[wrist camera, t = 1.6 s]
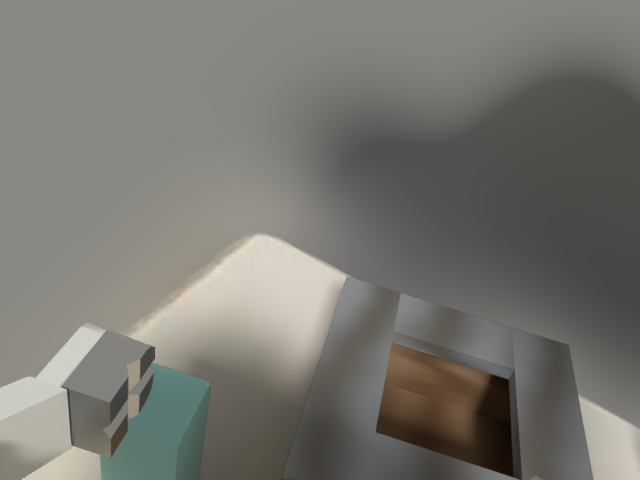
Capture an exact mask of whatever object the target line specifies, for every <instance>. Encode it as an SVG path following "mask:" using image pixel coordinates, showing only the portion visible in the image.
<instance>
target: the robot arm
mask: <svg viewBox="0 0 640 480" xmlns="http://www.w3.org/2000/svg"><path fill="white" fill-rule="evenodd" d="M154 359H155V347H153V346H150V345H147V344H145V343H142V342H139V341H136V340H134V339H131V338H128V337H126V336H123V335H120V334H118V333H115V332H112V331H109V330H107V329H103V328H101V327H98V326H95V325H92V324H89V323H87V324H85V325H83V326H82V327H80V328H79V329H78V330H77V331H76V332H75V334H74V335H73V336H72V337H71V338H70V339H69V340H68V342H67V343H66V344H65V345H64V346H63V347H62V348H61V350H60V351H59V352H58V353H57V354H56V355H55V356H54V358H53V359H52V360H51V361H50V362H49V363H48V364H47V365H46V366H45V368H44V369H43V370H42V371H41V372H40V373H39V374H38V376H37V377H36V378H33V377H30V376H27V377H25V378H23V379H21V380H18V381H15V382H13V383H10V384H8V385H6V386H3V387H1V388H0V480H21V479H22V478H24V477H26V476H27V475H29V474H31V473H32V472H34V471H35V470H37V469H39V468H40V467H42V466H43V465H45V464H47V463H48V462H50V461H52V460H53V459H55V458H56V457H58V456H60V455H61V454H63V453H64V452H66V451H68V450H69V449H71V448H72V446H75V447H78V448H81V449H84V450H87V451H90V452H93V453H97V454H100V455H103V456H106V457H109V458H111V457H112V455H113V454H114V452H115V451H116V449H117V448H118V446H119V444H120V443H121V441H122V440H123V438H124V437H125V435H126V433H127V432H128V419H130V418H132V417H134V416H136V415H138V414H139V413H140V411H141V409H142V408H143V406H144V404H145V403H146V400H147V398H148V396H149V393H150V391H151V388H152V384H153V380H154V371H153V370H152V368H151V367H150V365H151V363H152V362H153V360H154ZM530 480H548V479H545V478H542V477H539V476H535V477H533V478H531V479H530Z"/></svg>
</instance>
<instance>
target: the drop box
mask: <svg viewBox="0 0 640 480" xmlns="http://www.w3.org/2000/svg"><path fill="white" fill-rule="evenodd" d="M535 476H539V477H542V478H545V479H548V480H593V475H592V470H591V464H590V459H589V453H588V448H587V442H586V437H585V431H584V426H583V421H582V415H581V410H580V404H579V399H578V393H577V388H576V383H575V377H574V372H573V367H572V361H571V355H570V350H569V345H566V344H563V343H560V342H557V341H554V340H550V339H547V338H544V337H541V336H537V335H534V334H531V333H528V332H525V331H521V330H518V329H515V328H511V327H508V326H505V325H502V324H499V323H495V322H492V321H489V320H486V319H483V318H479V317H476V316H473V315H469V314H467V313H463V312H460V311H457V310H453V309H450V308H447V307H444V306H441V305H438V304H434V303H431V302H428V301H424V300H421V299H418V298H415V297H412V296H408V295H405V294H402V293H399V292H396V291H392V290H389V289H386V288H382V287H379V286H376V285H373V284H370V283H366V282H363V281H360V280H357V279H354V278H350V277H346V280H345V283H344V286H343V289H342V292H341V295H340V299H339V302H338V305H337V308H336V311H335V314H334V317H333V320H332V323H331V326H330V330H329V333H328V336H327V339H326V342H325V345H324V348H323V351H322V354H321V358H320V361H319V364H318V367H317V370H316V373H315V376H314V379H313V382H312V385H311V389H310V392H309V395H308V398H307V401H306V404H305V407H304V410H303V413H302V417H301V420H300V423H299V426H298V429H297V432H296V435H295V438H294V441H293V444H292V448H291V451H290V454H289V457H288V460H287V463H286V466H285V469H284V472H283V476H282V479H281V480H530V479H531V478H533V477H535Z"/></svg>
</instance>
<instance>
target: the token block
mask: <svg viewBox="0 0 640 480" xmlns="http://www.w3.org/2000/svg"><path fill="white" fill-rule="evenodd" d="M150 367H151V368H152V370H153V371H154V380H153V384H152V388H151V391H150V393H149V396H148V398H147V400H146V403H145V404H144V406H143V408H142V409H141V411H140V413H139V414H138V415H136V416H134V417H132V418H130V419H128V432H127V433H126V435H125V437H124V438H123V440H122V441H121V443H120V444H119V446H118V448H117V449H116V451H115V452H114V454H113V455H112V457H111V458H109V457H106V456H103V455H100V458H101V476H102V480H199V473H200V465H201V457H202V450H203V442H204V434H205V426H206V419H207V411H208V403H209V395H210V388H211V382H210V381H207V380H204V379H201V378H198V377H195V376H191V375H188V374H185V373H182V372H179V371H176V370H173V369H170V368H167V367H164V366H161V365H158V364H155V363H151V365H150Z"/></svg>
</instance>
